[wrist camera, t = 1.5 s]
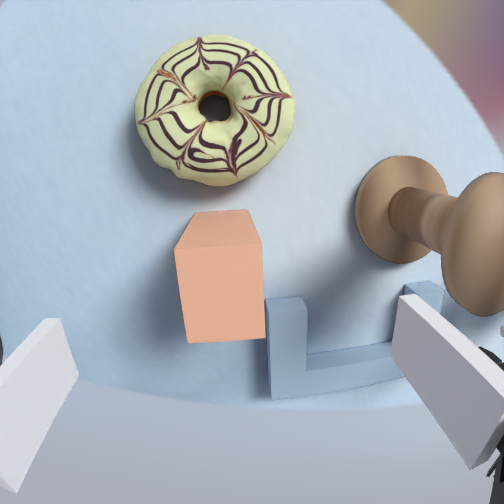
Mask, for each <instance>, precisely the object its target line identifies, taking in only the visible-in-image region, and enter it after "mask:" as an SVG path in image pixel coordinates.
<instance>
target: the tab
mask: <svg viewBox="0 0 504 504" xmlns="http://www.w3.org/2000/svg"><path fill="white" fill-rule="evenodd" d="M174 254H175V262H176V270H177V277H178V284H179V291H180V298H181V305H182V311H183V317H184V324H185V330H186V336H187V341H188V343H204V342H221V341H236V340H249V339H260V338H266V333H265V309H264V286H263V263H262V243H261V241H260V238H259V236H258V233H257V231H256V228H255V226H254V223H253V221H252V218H251V216H250V213H249V211H248V209H241V210H226V211H213V212H200V213H195V214H194V215H193V217H192V219H191V220H190V222H189V224H188V226H187V227H186V229H185V231H184V233H183V234H182V236H181V238H180V240H179V241H178V243H177V245H176V247H175V249H174Z"/></svg>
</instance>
